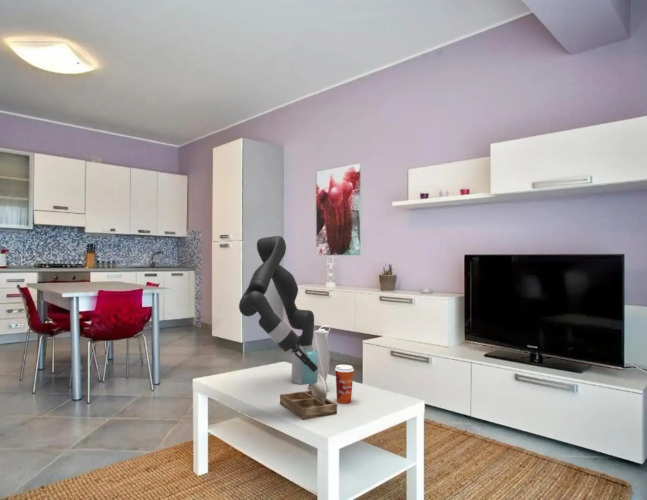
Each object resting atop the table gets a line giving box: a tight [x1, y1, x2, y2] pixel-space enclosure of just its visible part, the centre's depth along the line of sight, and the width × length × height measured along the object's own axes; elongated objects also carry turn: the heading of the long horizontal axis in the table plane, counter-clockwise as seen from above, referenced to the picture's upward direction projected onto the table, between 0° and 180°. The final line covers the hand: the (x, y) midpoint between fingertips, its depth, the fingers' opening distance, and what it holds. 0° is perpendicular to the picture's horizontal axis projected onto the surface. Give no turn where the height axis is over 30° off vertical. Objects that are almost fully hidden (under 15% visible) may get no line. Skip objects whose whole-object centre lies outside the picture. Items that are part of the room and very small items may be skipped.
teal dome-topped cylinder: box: [301, 349, 318, 385], centre depth 163 cm, size 6×6×11 cm
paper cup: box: [334, 364, 355, 405], centre depth 177 cm, size 8×8×14 cm
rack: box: [279, 375, 338, 421], centre depth 168 cm, size 14×20×12 cm
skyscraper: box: [307, 324, 332, 393], centre depth 193 cm, size 8×8×28 cm
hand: (314, 367), depth 164 cm, fingers closed on teal dome-topped cylinder, 6 cm apart
